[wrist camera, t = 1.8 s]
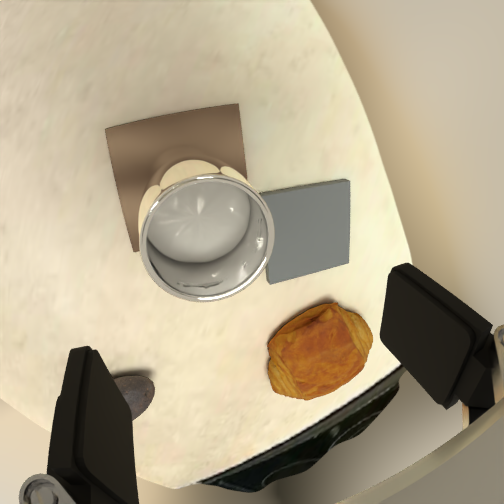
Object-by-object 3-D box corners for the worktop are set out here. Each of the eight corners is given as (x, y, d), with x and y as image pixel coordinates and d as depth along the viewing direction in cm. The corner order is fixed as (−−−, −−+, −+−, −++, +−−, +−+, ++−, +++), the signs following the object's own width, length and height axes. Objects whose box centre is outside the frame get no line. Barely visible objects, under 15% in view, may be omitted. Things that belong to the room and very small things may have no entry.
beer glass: (158, 130, 25) (161, 149, 12) (231, 155, 28) (301, 198, 15) (134, 203, 27) (120, 290, 14) (204, 223, 30) (247, 316, 17)
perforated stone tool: (142, 357, 35) (145, 400, 29) (163, 381, 38) (169, 423, 32) (55, 391, 34) (49, 431, 28) (78, 412, 37) (76, 451, 31)
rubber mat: (258, 193, 31) (261, 196, 30) (345, 178, 33) (350, 181, 32) (266, 280, 36) (269, 284, 35) (344, 259, 38) (348, 263, 37)
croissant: (353, 341, 49) (386, 369, 42) (272, 393, 45) (299, 430, 38) (346, 272, 41) (387, 301, 35) (243, 333, 38) (275, 376, 31)
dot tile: (105, 128, 24) (104, 129, 24) (237, 103, 27) (238, 103, 26) (134, 250, 30) (133, 252, 29) (251, 223, 32) (252, 225, 32)
